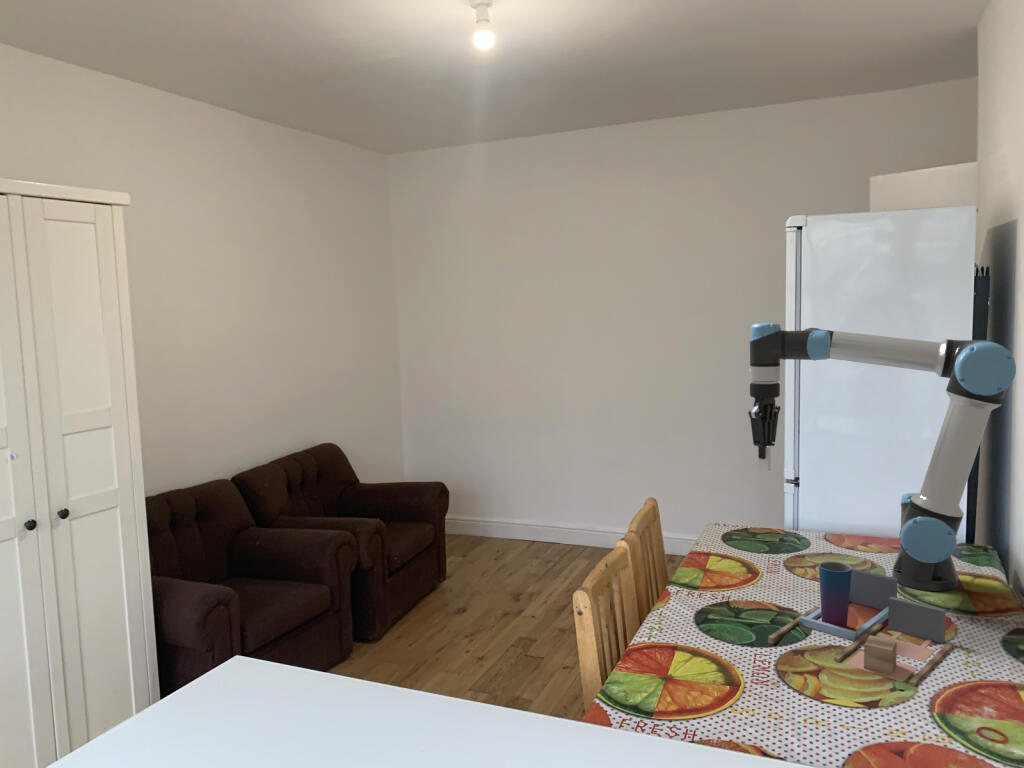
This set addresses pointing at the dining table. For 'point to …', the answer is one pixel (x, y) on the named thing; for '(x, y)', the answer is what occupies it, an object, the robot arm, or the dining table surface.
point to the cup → (835, 592)
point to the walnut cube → (880, 654)
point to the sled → (864, 592)
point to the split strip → (912, 622)
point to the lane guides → (859, 641)
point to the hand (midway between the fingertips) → (764, 470)
